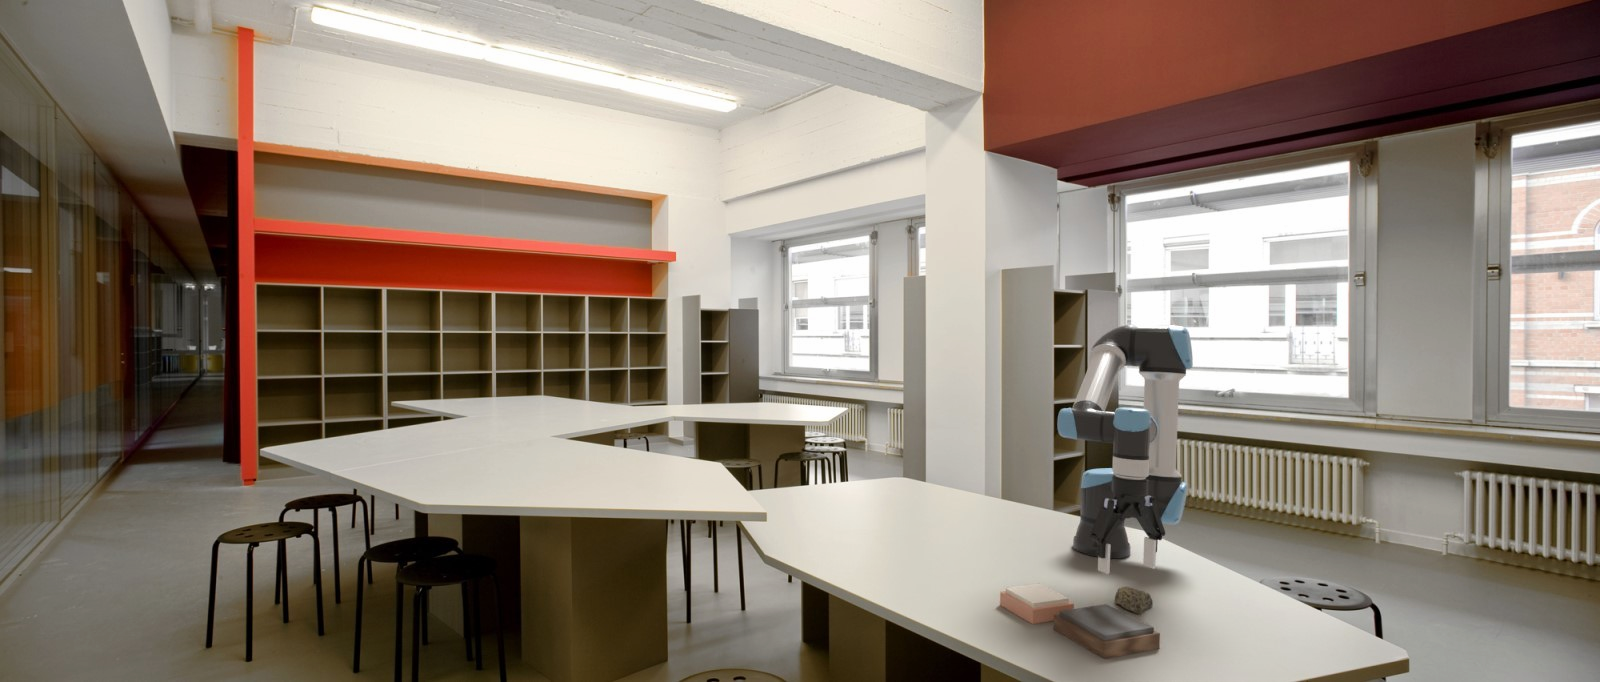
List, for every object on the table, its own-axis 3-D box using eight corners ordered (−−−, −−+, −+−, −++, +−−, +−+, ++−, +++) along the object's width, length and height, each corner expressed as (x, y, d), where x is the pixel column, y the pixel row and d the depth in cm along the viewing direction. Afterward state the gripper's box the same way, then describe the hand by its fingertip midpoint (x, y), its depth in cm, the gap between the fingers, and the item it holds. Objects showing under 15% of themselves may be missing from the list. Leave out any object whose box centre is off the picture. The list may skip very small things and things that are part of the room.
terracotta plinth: (1039, 599, 165) (1039, 581, 165) (1073, 617, 155) (1074, 599, 155) (1000, 604, 161) (1000, 587, 161) (1032, 624, 151) (1033, 605, 151)
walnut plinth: (1105, 620, 154) (1105, 602, 153) (1159, 648, 140) (1160, 628, 140) (1053, 629, 148) (1054, 610, 148) (1104, 658, 135) (1105, 637, 135)
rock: (1107, 606, 162) (1107, 587, 162) (1122, 598, 167) (1122, 579, 167) (1139, 616, 157) (1140, 596, 157) (1153, 607, 162) (1154, 588, 162)
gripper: (1157, 471, 170) (1154, 559, 170) (1074, 475, 161) (1071, 568, 161) (1184, 477, 163) (1181, 569, 163) (1099, 481, 154) (1096, 579, 154)
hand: (1126, 569), depth 162 cm, fingers open, 13 cm apart
